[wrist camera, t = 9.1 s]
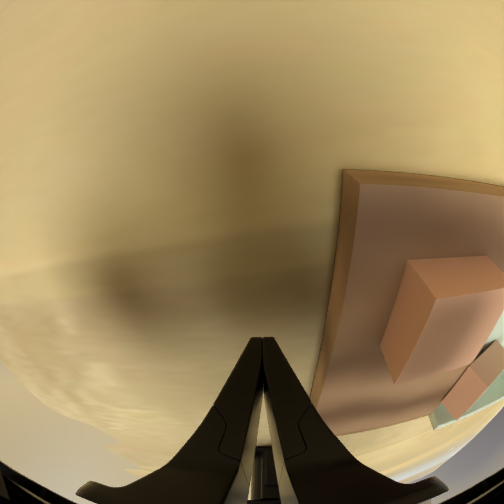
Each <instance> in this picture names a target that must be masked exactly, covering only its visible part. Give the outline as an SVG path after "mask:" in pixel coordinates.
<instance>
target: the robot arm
mask: <svg viewBox="0 0 504 504" xmlns="http://www.w3.org/2000/svg"><path fill="white" fill-rule="evenodd" d="M263 390H264V399H265V405H266V411H267V418H268V424H269V431H270V437H271V443H272V448H256V441H257V434H258V427H259V419H260V412H261V404H262V397H263ZM311 403H312V402H311V400H310V398H309V397H308V395H307V393H306V392H305V390H304V388H303V386H302V385H301V383H300V381H299V380H298V378H297V376H296V375H295V373H294V371H293V369H292V368H291V366H290V364H289V363H288V361H287V359H286V357H285V356H284V354H283V352H282V351H281V349H280V347H279V345H278V344H277V342H276V340H275V338H274V337H263V338H261V337H252V338H250V340H249V342H248V344H247V345H246V347H245V349H244V351H243V353H242V354H241V356H240V358H239V360H238V362H237V364H236V365H235V367H234V369H233V371H232V372H231V374H230V376H229V378H228V380H227V381H226V383H225V385H224V387H223V388H222V390H221V392H220V394H219V395H218V397H217V399H216V400H215V402H214V404H213V405H214V406H212V407H211V409H210V411H209V412H208V414H207V415H206V417H205V419H204V420H203V422H202V423H201V425H200V426H199V427H198V428H197V430H196V431H195V432H194V434H193V435H192V436H191V437H190V439H189V440H188V441H187V442H186V443H185V445H184V446H183V447H182V448H181V449H180V450H179V452H178V453H177V454H176V455H175V456H174V457H173V458H172V459H171V460H170V461H169V462H168V463H167V464H166V465H164V466H163V467H161V468H160V469H158V470H156V471H154V472H152V473H150V474H148V475H147V476H145V477H143V478H141V479H139V480H137V481H135V482H133V483H131V484H129V485H127V486H124V487H109V486H106V485H103V484H100V483H97V482H93V481H89V482H87V483H86V484H84V485H83V486H82V487H80V489H78V491H77V492H76V495H77V496H80V497H82V498H85V499H87V500H89V501H92V502H94V503H97V504H431V498H433V497H436V496H438V495H440V494H442V493H444V492H447V491H448V490H449V489H448V487H447V486H446V485H445V483H443V482H442V481H441V480H440V479H438V478H437V477H435V476H434V477H430V478H427V479H424V480H422V481H419V482H416V483H413V484H403V483H399V482H396V481H394V480H392V479H390V478H388V477H386V476H384V475H382V474H380V473H378V472H376V471H375V470H373V469H371V468H369V467H367V466H365V465H364V464H362V463H361V462H359V461H358V460H357V459H356V458H355V457H354V456H353V455H352V454H351V453H350V452H349V451H348V450H347V449H346V447H345V446H344V445H343V444H342V443H341V442H340V440H339V439H338V438H337V437H336V436H335V435H334V433H333V432H332V431H331V430H330V428H329V427H328V426H327V424H326V423H325V422H324V420H323V419H322V417H321V416H320V414H319V413H318V411H317V410H316V408H315V406H314V405H313V404H311ZM250 481H251V500H248V493H249V487H250ZM0 504H77V503H75V502H73V501H70V500H69V499H67V498H65V497H63V496H60V495H59V494H57V493H55V492H53V491H51V490H49V489H47V488H45V487H43V486H41V485H40V484H38V483H36V482H34V481H33V480H31V479H29V478H27V477H26V476H24V475H22V474H20V473H18V472H17V471H16V470H14V469H12V468H11V467H9V466H8V465H6V464H5V463H3V462H2V461H0ZM439 504H504V468H502V469H500V470H499V471H497V472H496V473H494V474H492V475H491V476H489V477H488V478H486V479H484V480H483V481H481V482H479V483H477V484H475V485H474V486H472V487H470V488H468V489H467V490H465V491H463V492H461V493H459V494H457V495H455V496H453V497H451V498H450V499H447V500H445V501H443V502H441V503H439Z"/></svg>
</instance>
